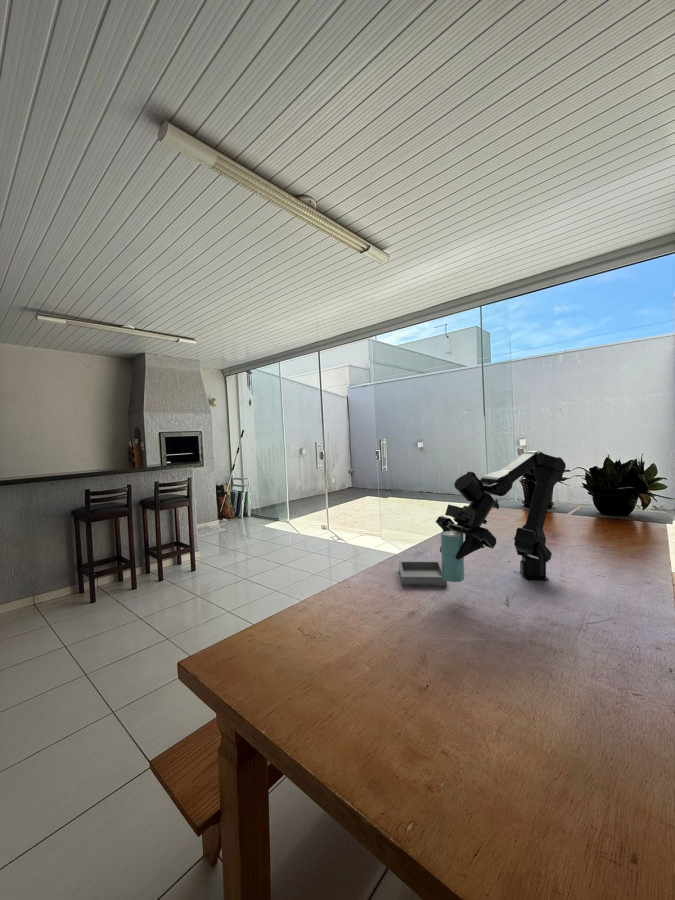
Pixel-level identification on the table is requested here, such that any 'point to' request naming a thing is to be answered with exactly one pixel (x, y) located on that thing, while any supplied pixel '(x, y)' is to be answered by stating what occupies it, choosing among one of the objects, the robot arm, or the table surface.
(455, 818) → the table surface
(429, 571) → the tray
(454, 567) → the teal cylinder
